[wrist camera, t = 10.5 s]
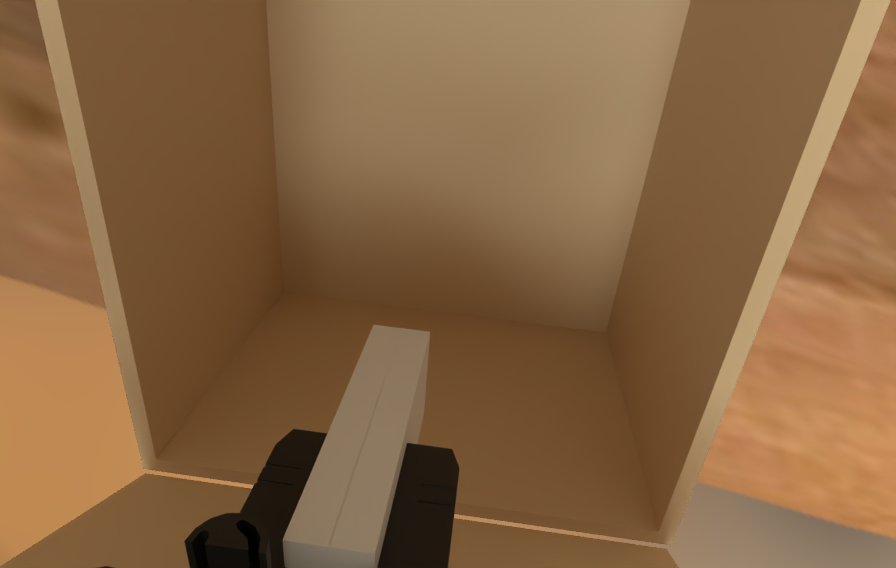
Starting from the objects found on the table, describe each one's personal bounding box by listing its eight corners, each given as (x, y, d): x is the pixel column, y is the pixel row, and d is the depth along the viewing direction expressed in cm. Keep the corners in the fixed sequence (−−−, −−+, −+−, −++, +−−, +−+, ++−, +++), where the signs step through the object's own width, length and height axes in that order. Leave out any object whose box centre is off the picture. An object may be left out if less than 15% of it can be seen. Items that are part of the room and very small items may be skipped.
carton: (243, -224, 23) (-75, -472, 11) (749, -185, 22) (1056, -411, 9) (277, 294, 34) (143, 468, 22) (612, 337, 33) (671, 545, 21)
